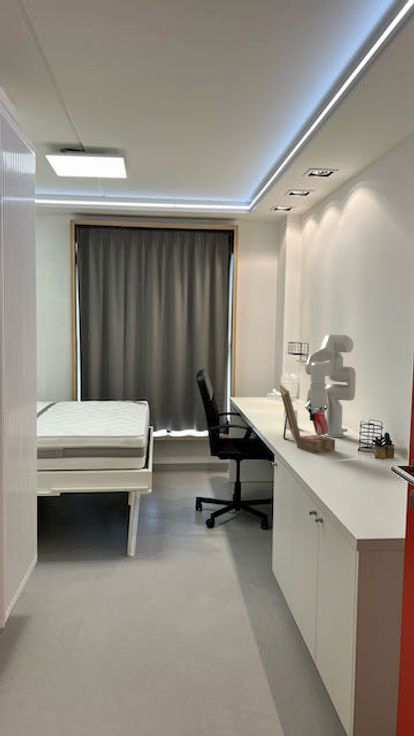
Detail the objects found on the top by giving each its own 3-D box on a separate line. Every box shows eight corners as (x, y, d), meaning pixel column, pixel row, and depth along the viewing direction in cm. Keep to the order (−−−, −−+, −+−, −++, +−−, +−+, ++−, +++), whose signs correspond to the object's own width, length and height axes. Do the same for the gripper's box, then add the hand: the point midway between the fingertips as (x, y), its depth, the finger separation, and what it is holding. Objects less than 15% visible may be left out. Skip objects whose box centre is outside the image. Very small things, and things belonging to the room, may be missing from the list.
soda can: (329, 429, 287) (324, 407, 284) (328, 434, 280) (322, 411, 278) (316, 431, 289) (311, 409, 287) (315, 436, 283) (309, 413, 280)
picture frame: (302, 445, 293) (303, 391, 291) (284, 444, 294) (285, 390, 291) (294, 433, 326) (295, 384, 324) (277, 433, 326) (278, 384, 324)
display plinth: (317, 445, 293) (318, 433, 292) (334, 450, 280) (335, 438, 280) (297, 447, 287) (297, 436, 286) (313, 453, 274) (313, 441, 274)
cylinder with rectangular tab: (299, 427, 344) (300, 409, 343) (292, 429, 338) (292, 410, 337) (288, 425, 350) (288, 407, 350) (280, 427, 344) (280, 409, 343)
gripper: (325, 385, 288) (324, 418, 290) (300, 386, 280) (299, 420, 282) (334, 386, 282) (333, 420, 283) (309, 387, 274) (308, 422, 275)
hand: (316, 420), depth 282 cm, fingers open, 5 cm apart
